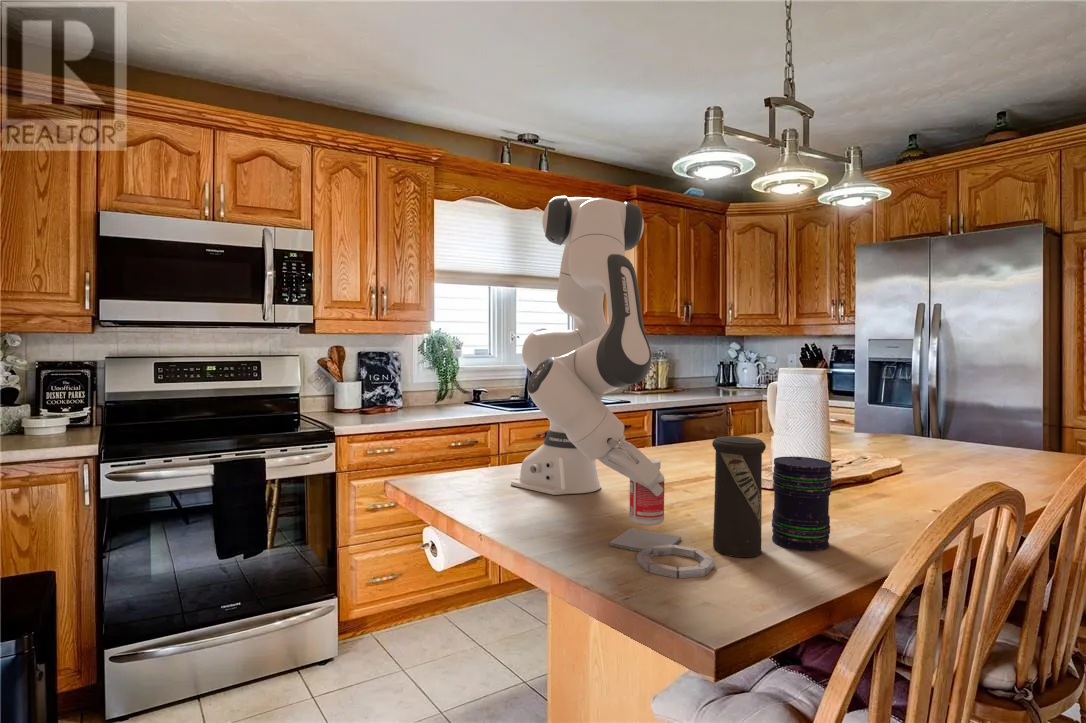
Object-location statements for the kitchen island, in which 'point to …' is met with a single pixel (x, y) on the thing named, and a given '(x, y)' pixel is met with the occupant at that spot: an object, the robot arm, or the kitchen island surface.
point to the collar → (671, 571)
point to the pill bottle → (646, 502)
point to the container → (738, 495)
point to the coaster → (643, 540)
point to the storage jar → (801, 503)
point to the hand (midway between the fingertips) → (650, 487)
